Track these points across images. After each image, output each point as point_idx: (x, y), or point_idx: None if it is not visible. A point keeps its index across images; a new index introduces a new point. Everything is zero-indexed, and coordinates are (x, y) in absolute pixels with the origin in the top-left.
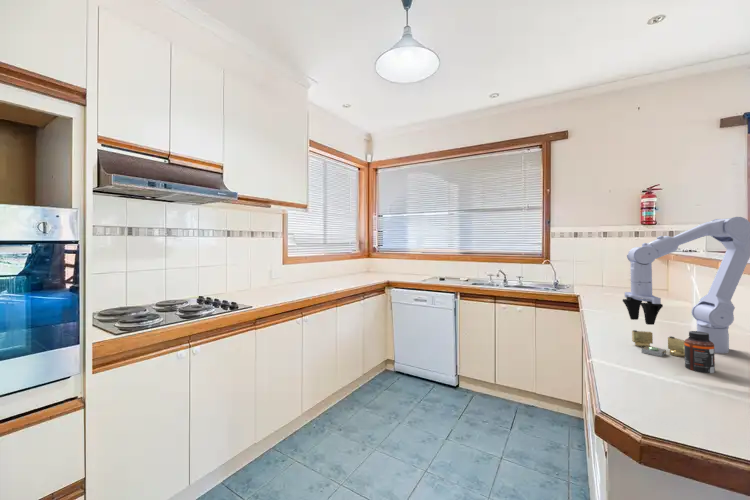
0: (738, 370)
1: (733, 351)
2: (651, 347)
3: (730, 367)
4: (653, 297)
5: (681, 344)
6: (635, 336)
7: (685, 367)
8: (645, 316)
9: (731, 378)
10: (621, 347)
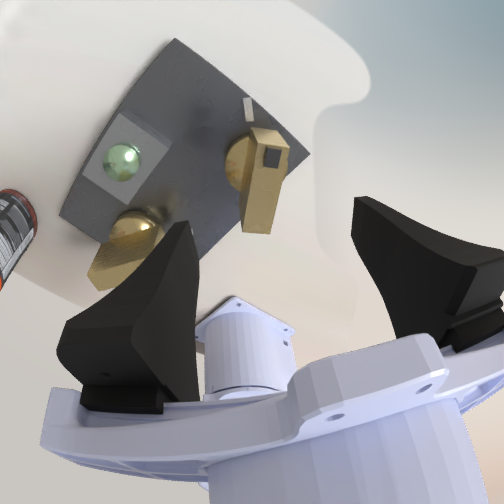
0: (88, 305)
1: None
2: (122, 156)
3: None
4: (98, 463)
5: (98, 263)
6: (253, 143)
7: (5, 193)
8: (163, 251)
9: (19, 261)
10: (277, 78)
